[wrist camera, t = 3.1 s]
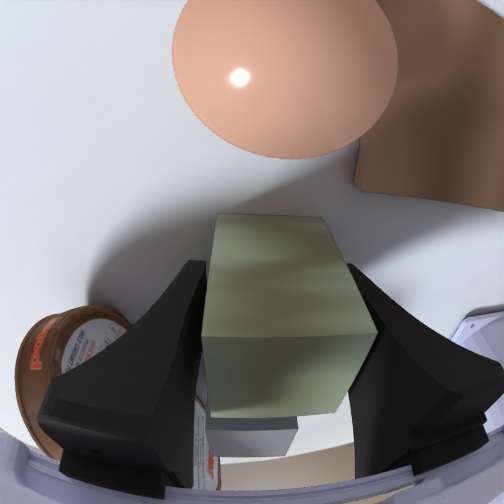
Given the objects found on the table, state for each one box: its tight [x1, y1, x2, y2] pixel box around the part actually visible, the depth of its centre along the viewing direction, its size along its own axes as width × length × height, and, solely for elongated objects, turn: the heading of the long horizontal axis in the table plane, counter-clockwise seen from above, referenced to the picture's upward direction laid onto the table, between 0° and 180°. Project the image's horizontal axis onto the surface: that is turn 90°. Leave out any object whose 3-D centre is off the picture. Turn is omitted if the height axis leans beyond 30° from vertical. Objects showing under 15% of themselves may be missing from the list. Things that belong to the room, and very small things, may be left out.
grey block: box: [205, 390, 298, 457], centre depth 14 cm, size 4×4×5 cm
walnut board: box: [353, 0, 504, 212], centre depth 8 cm, size 9×9×1 cm
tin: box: [15, 306, 221, 491], centre depth 13 cm, size 15×3×8 cm, turn 21°
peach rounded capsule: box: [172, 0, 398, 159], centre depth 6 cm, size 4×4×5 cm
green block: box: [201, 213, 378, 418], centre depth 10 cm, size 4×4×6 cm
